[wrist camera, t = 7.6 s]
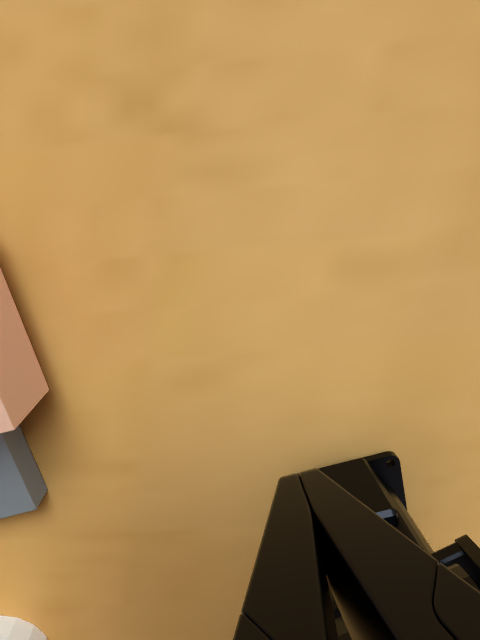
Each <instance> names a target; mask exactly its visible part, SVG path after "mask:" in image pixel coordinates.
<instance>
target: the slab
mask: <svg viewBox="0 0 480 640" xmlns="http://www.w3.org/2000/svg"><path fill="white" fill-rule="evenodd" d="M48 391H49V388H48V385H47V383H46V380H45V378H44V375H43V373H42V370H41V368H40V365H39V363H38V360H37V358H36V355H35V353H34V350H33V348H32V345H31V343H30V340H29V338H28V335H27V333H26V330H25V328H24V325H23V323H22V320H21V318H20V315H19V313H18V310H17V308H16V305H15V303H14V300H13V298H12V295H11V293H10V291H9V288H8V286H7V283H6V281H5V278H4V276H3V273H2V271H1V268H0V433H3V432H8V431H12V430H15V429H16V428H17V426H18V425H19V424H20V423H21V422H22V421H23V419H24V418H25V417H26V416H27V415H28V414H29V413H30V411H31V410H32V409H33V408H34V407H35V406H36V405H37V403H38V402H39V401H40V400H41V399H42V398H43V396H44V395H45V394H46V393H47V392H48Z"/></svg>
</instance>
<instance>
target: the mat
mask: <svg viewBox="0 0 480 640" xmlns="http://www.w3.org/2000/svg"><path fill="white" fill-rule="evenodd" d="M47 490H48V489H47V487H46V484H45V482H44V480H43V478H42V475H41V473H40V471H39V469H38V466H37V464H36V462H35V460H34V457H33V455H32V453H31V450H30V448H29V446H28V444H27V441H26V439H25V437H24V435H23V432H22V430H21V428H20V426H19V425H18V426H17V428H16V429H15V430H12V431H8V432H3V433H0V519H1V518H5V517H9V516H13V515H17V514H21V513H25V512H29V511H33V510H36V509H37V508H38V506H39V504H40V502H41V501H42V499H43V497H44V495H45V494H46V492H47Z"/></svg>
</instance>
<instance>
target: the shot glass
mask: <svg viewBox="0 0 480 640" xmlns="http://www.w3.org/2000/svg"><path fill="white" fill-rule="evenodd" d="M0 640H48V639H47V637H46V635H45V634H44V633H43V632H41V631H40V630H39V629H38V628H37V627H36V626H35V625H34V624H31V623H29V622H27V621H24V620H22V619H20V618H18V617H9V616H0Z"/></svg>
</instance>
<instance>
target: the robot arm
mask: <svg viewBox="0 0 480 640" xmlns="http://www.w3.org/2000/svg"><path fill="white" fill-rule="evenodd" d="M388 460H392V461H391V462H390V463H387V461H388ZM241 612H242V614H241V615H240V617H239V620H238V624H237V627H236V631H235V634H234V638H233V640H480V548H479V547H478V546H477V545H476V544H475V543H474V542H473V541H472V540H471V539H470V538H469V537H468V536H467V535H464V536H462V537H460V538H457V539H455V543H453V544H451V545H449V546H447V547H444V548H442V549H440V550H438V551H436V552H433V550H432V548H431V547H430V545H429V544H428V542H427V541H426V539H425V538H424V536H423V535H422V533H421V532H420V530H419V528H418V527H417V525H416V524H415V522H414V521H413V519H412V518H411V516H410V515H409V513H408V512H407V507H406V500H405V493H404V486H403V480H402V473H401V466H400V461H399V458H398V457H397V456H396V454H395V453H393V452H391V451H388V452H383V453H379V454H375V455H371V456H367V457H363V458H359V459H355V460H351V461H347V462H343V463H339V464H335V465H331V466H327V467H323V468H320V469H311V470H307V471H304V472H301V473H300V474H292V475H288V476H284V477H281V478H280V479H279V481H278V484H277V488H276V491H275V495H274V498H273V502H272V505H271V509H270V512H269V516H268V519H267V523H266V526H265V530H264V533H263V537H262V540H261V544H260V547H259V551H258V554H257V558H256V561H255V565H254V568H253V572H252V575H251V579H250V582H249V586H248V589H247V593H246V596H245V600H244V603H243V607H242V611H241Z"/></svg>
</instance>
